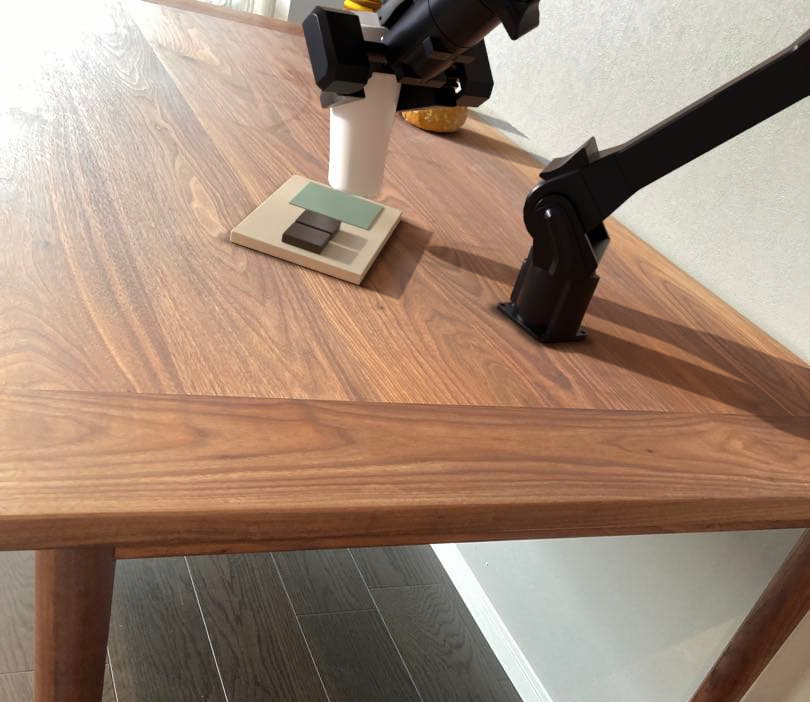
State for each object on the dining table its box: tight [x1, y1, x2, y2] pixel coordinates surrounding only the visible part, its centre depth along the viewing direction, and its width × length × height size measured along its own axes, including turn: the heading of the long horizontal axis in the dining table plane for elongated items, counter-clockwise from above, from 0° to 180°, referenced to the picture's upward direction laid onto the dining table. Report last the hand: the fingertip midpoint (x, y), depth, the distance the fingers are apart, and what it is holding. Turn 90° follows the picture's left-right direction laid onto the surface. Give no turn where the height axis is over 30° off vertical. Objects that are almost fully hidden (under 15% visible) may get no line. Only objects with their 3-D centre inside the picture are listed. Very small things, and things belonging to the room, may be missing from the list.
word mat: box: [229, 173, 404, 286], centre depth 88 cm, size 20×12×2 cm, turn 169°
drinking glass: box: [327, 11, 402, 197], centre depth 86 cm, size 7×7×15 cm
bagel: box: [396, 106, 469, 133], centre depth 130 cm, size 10×11×5 cm
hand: (352, 106), depth 87 cm, fingers closed on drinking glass, 6 cm apart
